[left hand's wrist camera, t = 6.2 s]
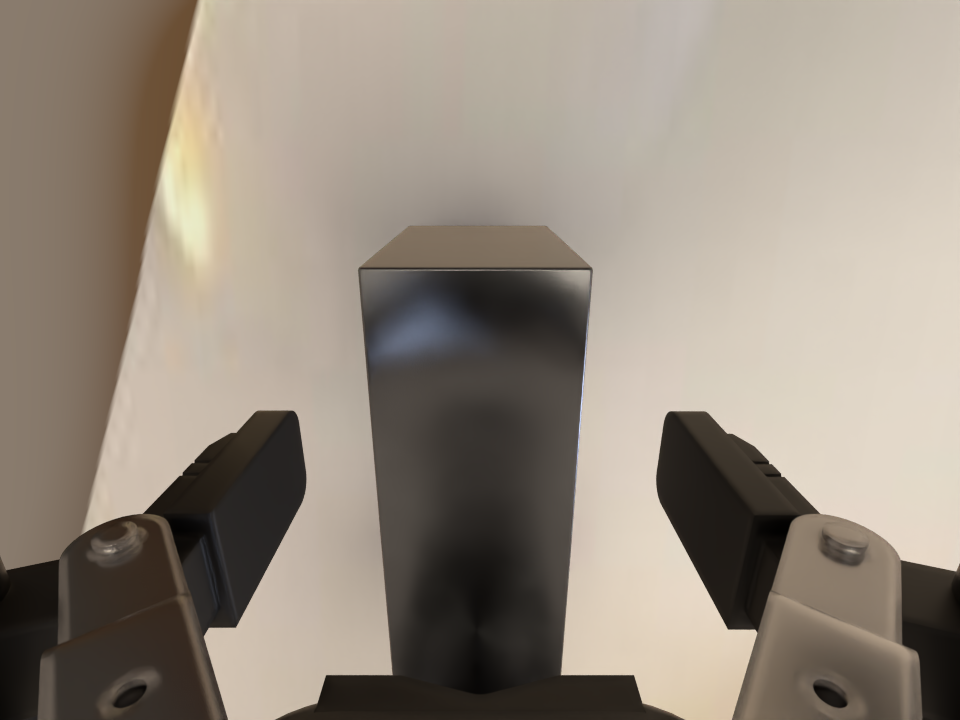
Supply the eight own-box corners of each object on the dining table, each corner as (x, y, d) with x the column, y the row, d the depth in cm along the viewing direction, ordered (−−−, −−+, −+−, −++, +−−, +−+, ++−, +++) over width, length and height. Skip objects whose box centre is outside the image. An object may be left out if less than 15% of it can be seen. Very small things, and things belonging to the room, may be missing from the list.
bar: (408, 225, 21) (357, 267, 12) (547, 225, 21) (593, 267, 12) (428, 646, 29) (406, 846, 20) (528, 646, 29) (547, 847, 20)
